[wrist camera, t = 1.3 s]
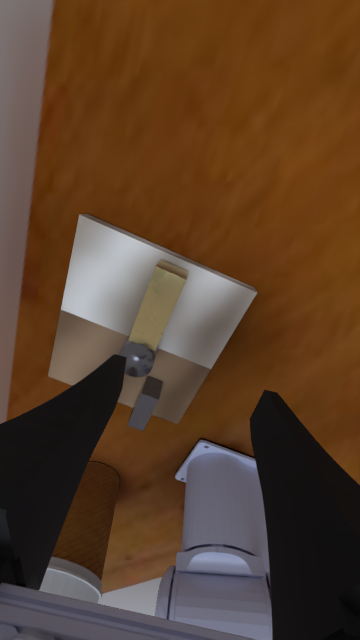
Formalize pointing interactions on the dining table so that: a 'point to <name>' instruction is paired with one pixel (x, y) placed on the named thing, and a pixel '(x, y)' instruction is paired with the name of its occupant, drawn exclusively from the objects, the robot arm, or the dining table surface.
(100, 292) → the door edge board
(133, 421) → the keeper block
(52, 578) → the disposable coffee cup
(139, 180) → the dining table surface
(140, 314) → the bar
